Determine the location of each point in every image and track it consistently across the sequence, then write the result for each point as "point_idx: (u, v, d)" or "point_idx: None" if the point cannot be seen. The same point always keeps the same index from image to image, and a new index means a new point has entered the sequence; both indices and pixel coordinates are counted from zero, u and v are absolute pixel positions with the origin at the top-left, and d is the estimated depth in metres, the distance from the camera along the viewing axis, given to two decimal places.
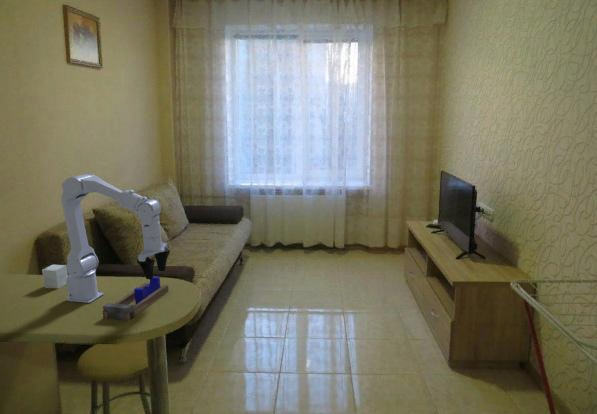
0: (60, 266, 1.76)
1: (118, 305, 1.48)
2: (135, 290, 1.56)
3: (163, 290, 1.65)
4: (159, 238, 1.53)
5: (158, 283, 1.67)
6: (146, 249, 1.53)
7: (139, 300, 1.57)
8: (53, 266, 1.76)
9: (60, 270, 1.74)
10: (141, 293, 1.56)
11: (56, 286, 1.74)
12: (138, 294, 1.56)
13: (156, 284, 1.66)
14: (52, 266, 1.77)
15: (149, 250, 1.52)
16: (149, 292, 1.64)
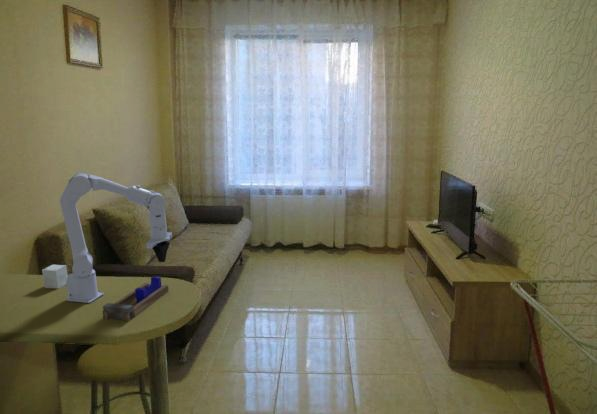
0: (60, 266, 1.76)
1: (118, 305, 1.48)
2: (136, 290, 1.56)
3: (163, 290, 1.65)
4: (165, 228, 1.69)
5: (160, 283, 1.67)
6: (153, 238, 1.68)
7: (140, 300, 1.57)
8: (53, 266, 1.76)
9: (60, 270, 1.74)
10: (142, 293, 1.56)
11: (56, 286, 1.74)
12: (139, 294, 1.56)
13: (157, 284, 1.66)
14: (51, 266, 1.77)
15: (156, 238, 1.67)
16: (150, 292, 1.64)
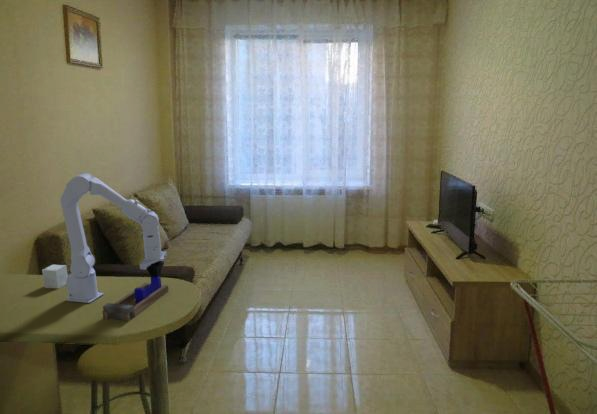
0: (60, 266, 1.76)
1: (118, 305, 1.48)
2: (135, 290, 1.56)
3: (163, 290, 1.65)
4: (159, 248, 1.65)
5: (159, 283, 1.66)
6: (147, 258, 1.64)
7: (139, 300, 1.56)
8: (53, 266, 1.76)
9: (60, 270, 1.74)
10: (141, 293, 1.55)
11: (56, 286, 1.74)
12: (138, 294, 1.56)
13: (157, 284, 1.65)
14: (51, 266, 1.77)
15: (150, 259, 1.64)
16: (150, 292, 1.63)
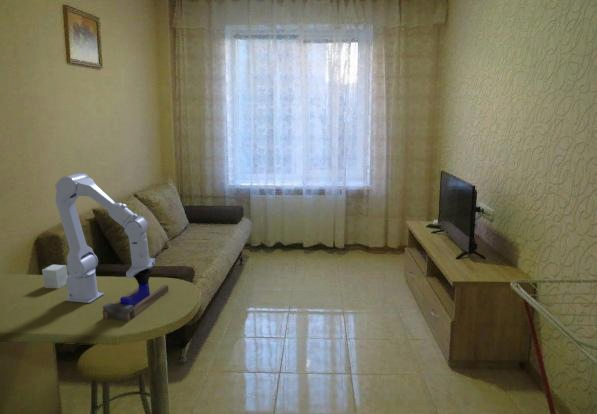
0: (60, 266, 1.76)
1: (118, 305, 1.48)
2: (121, 299, 1.48)
3: (163, 290, 1.65)
4: (146, 254, 1.58)
5: (148, 291, 1.59)
6: (134, 265, 1.57)
7: None
8: (53, 266, 1.76)
9: (60, 270, 1.74)
10: (127, 303, 1.48)
11: (56, 286, 1.74)
12: (124, 303, 1.49)
13: (145, 292, 1.58)
14: (52, 266, 1.77)
15: (137, 266, 1.56)
16: (137, 301, 1.56)
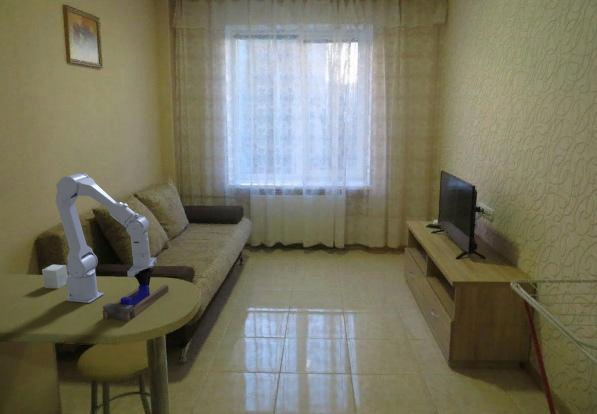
0: (60, 266, 1.76)
1: (118, 305, 1.48)
2: (121, 300, 1.48)
3: (163, 290, 1.65)
4: (148, 254, 1.58)
5: (148, 292, 1.59)
6: (135, 265, 1.58)
7: None
8: (53, 266, 1.76)
9: (60, 270, 1.74)
10: (128, 303, 1.48)
11: (56, 286, 1.74)
12: (124, 304, 1.49)
13: (145, 293, 1.58)
14: (51, 266, 1.77)
15: (138, 266, 1.57)
16: (137, 301, 1.56)
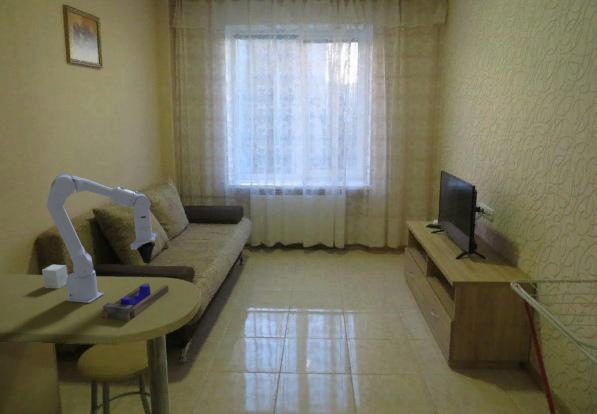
0: (60, 266, 1.76)
1: (118, 305, 1.48)
2: (122, 300, 1.49)
3: (163, 290, 1.65)
4: (150, 229, 1.68)
5: (148, 292, 1.59)
6: (138, 239, 1.67)
7: None
8: (53, 266, 1.76)
9: (60, 270, 1.74)
10: (128, 303, 1.48)
11: (56, 286, 1.74)
12: (125, 304, 1.49)
13: (146, 293, 1.58)
14: (51, 266, 1.77)
15: (140, 240, 1.67)
16: (138, 302, 1.56)
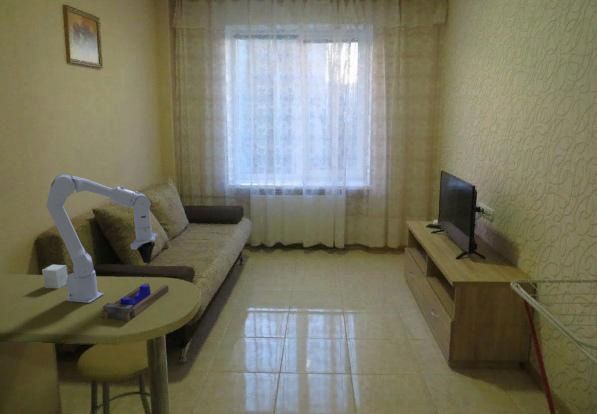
0: (60, 266, 1.76)
1: (118, 305, 1.48)
2: (121, 300, 1.49)
3: (163, 290, 1.65)
4: (150, 228, 1.68)
5: (148, 292, 1.59)
6: (138, 238, 1.67)
7: None
8: (53, 266, 1.76)
9: (60, 270, 1.74)
10: (127, 303, 1.48)
11: (56, 286, 1.74)
12: (124, 304, 1.49)
13: (146, 293, 1.58)
14: (51, 266, 1.77)
15: (140, 239, 1.67)
16: (138, 302, 1.56)
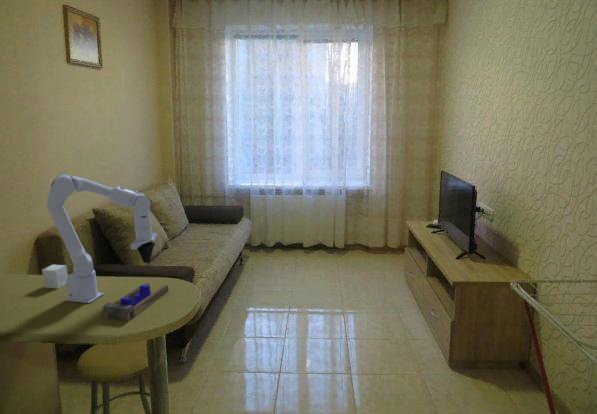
0: (60, 266, 1.76)
1: (118, 305, 1.48)
2: (122, 300, 1.49)
3: (163, 290, 1.65)
4: (150, 228, 1.68)
5: (149, 292, 1.59)
6: (138, 238, 1.67)
7: None
8: (53, 266, 1.76)
9: (60, 270, 1.74)
10: (128, 303, 1.48)
11: (56, 286, 1.74)
12: (125, 304, 1.49)
13: (146, 293, 1.58)
14: (51, 266, 1.77)
15: (140, 239, 1.67)
16: (138, 302, 1.56)
